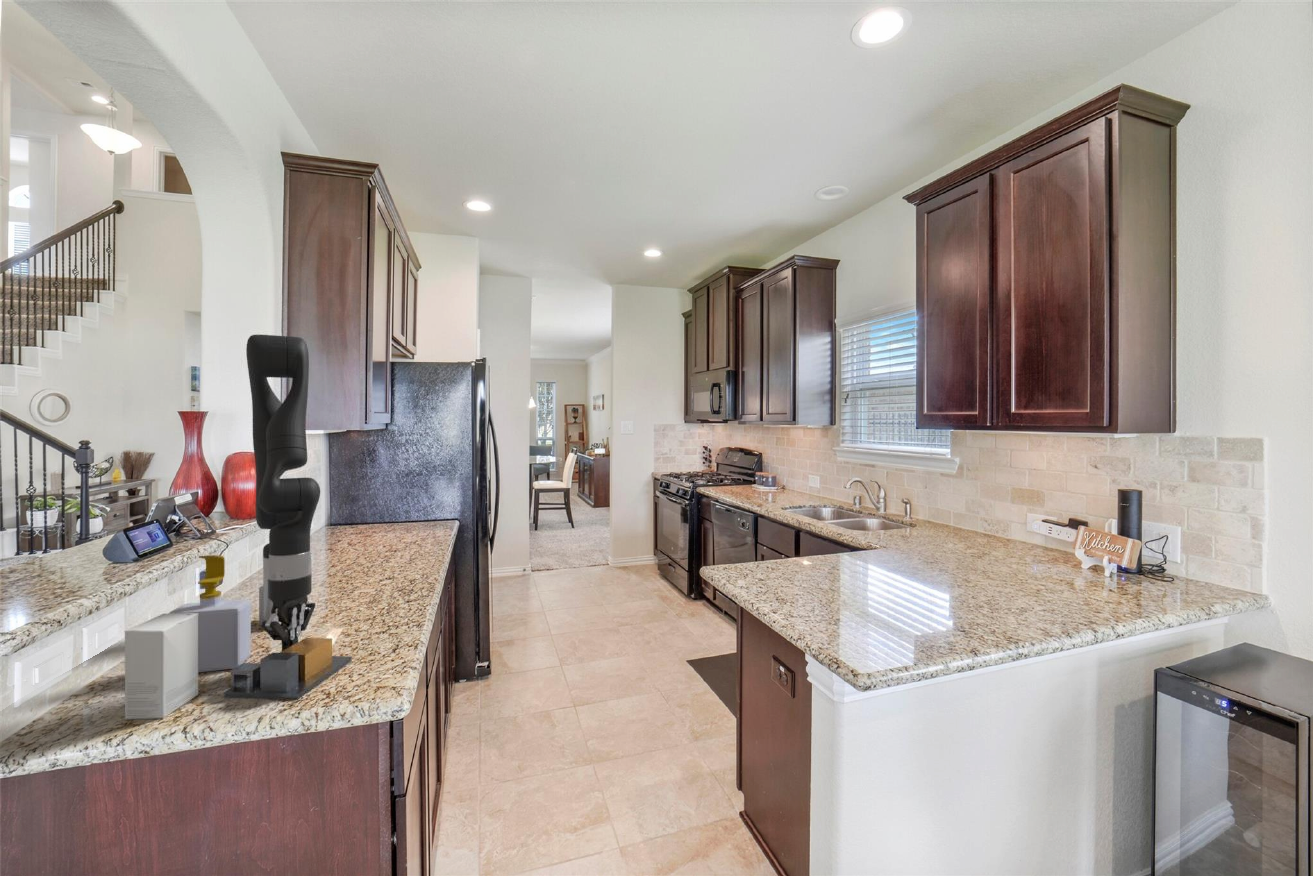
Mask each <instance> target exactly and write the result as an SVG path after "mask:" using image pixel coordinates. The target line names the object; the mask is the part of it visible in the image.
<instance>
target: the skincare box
mask: <svg viewBox="0 0 1313 876" xmlns="http://www.w3.org/2000/svg"><path fill="white" fill-rule="evenodd" d="M168 613H169V614H168ZM168 613H162V614H160V615H157V616H155V617H154V618H151V619H148V620H147V621H144V622H142V623H140V624H137V625H134V626H132V627H131V628H129V629H126V630H124V704H125V705H124V709H125V710H124V711H125V712H124V718H125V719H124V720H147V719H149V720H150V719H151V720H152V719H153V720H155V719H157V720H158V719H165V718H167V716H169V715H171V714H172V713H173V712H174V711H176V710H178V709H179V708H181V707H182V706H184V705H185V704H187V703H188V702H189V701H191V700H193V699H194V698H195V697H197V696H198V695H199V672H198V615H199V614H198V613H170V612H168Z"/></svg>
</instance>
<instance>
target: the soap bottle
mask: <svg viewBox="0 0 1313 876" xmlns="http://www.w3.org/2000/svg"><path fill="white" fill-rule="evenodd" d="M198 558H199V559H203V560H205V578H203V579H200V580H198V581H197V584H198V585H201V587H202V588H204V592H202V593H200V594H199V602H190V603H184V604H182V605H179V606H178V607H176V608H175V609H173V610H171V611H169V612H168V613H167V614H169V613H198V614H199V615H198V673H204V672H205V673H207V672H214V671H215V672H216V671H222V670H232V669H234V668H236V667H237V666H239V665H241V664H243V663H246V661H247V660H248V659H249V658H250V656H251V655H252V654H251V653H252V652H251V651H252V643H251V640H252V633H251V632H252V631H251V630H252V629H251V628H252V626H251V625H252V624H251V623H252V621H251V620H252V618H251V617H252V616H251V615H252V605H251V604H252V603H251V599H247V598H246V599H245V598H244V599H230V600H222V591H221V590H217V587H218V586H219V585H220V581H221V580H223V579H224V578H225V573H226V571H225V570H226V569H225V568H226V567H225V564H226V562H225V556H224V555H219V554H218V555H216V554H214V555H210V554H209V555H199V556H198Z"/></svg>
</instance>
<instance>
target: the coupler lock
mask: <svg viewBox="0 0 1313 876" xmlns="http://www.w3.org/2000/svg"><path fill="white" fill-rule="evenodd" d="M279 653H298V662H299V663H300V680H302V681H305V680H307V679H308V678H310V677H311V676H313V675H314V674H316V673H317V672H319V671H320V670H322V669H323V668H324V667H326V666H327V665H329V664H330V663H332V656H333V638H330V637H329V638H326V637H324V638H322V637H305V638H303V639H302V640H300V641H299V640H298V643H296V644H294V645H292V646H291V647H289V648H287V649H285V650H283V651H282V650H281V651H280V652H279Z"/></svg>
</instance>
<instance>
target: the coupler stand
mask: <svg viewBox="0 0 1313 876" xmlns="http://www.w3.org/2000/svg"><path fill="white" fill-rule="evenodd" d="M351 662H352V656H348V655H347V656H346V655H345V656H341V655H332V663H330V664H329V665H327V666H326V667H324V668H323V669H322V670H320V671H319V672H317V673H316V674H314V675H313V676H311V677H310V678H308V679H307V680H305V681H302V680H300V663H299V662H298V653H280V652H271V653H269V654H267V655H266V656H264V657H262V658H261V659H260V663H259V662H257V663H256V662H252V663H251V662H244V663H243V664H241V665H239V666H237V667H236V668H234V669H230V688H228V689H226V690H224V692H223V694H224V695H223V698H237V699H238V698H240V699H241V698H242V699H243V698H244V699H273V700H276V699H277V700H300V699H302V697H303V696H305V695H306V694H309V692H310V691H312V690H313V689H315V688H316V687H317V686H319V685H320V684H323V682H324V681H326V680H327V679H329V678H330V677H332V676H334V674H335V673H338V672H339V670H341V669H342V668H344V667H345V666H347V665H348V664H350V663H351ZM248 676H249V677H248Z"/></svg>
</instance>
